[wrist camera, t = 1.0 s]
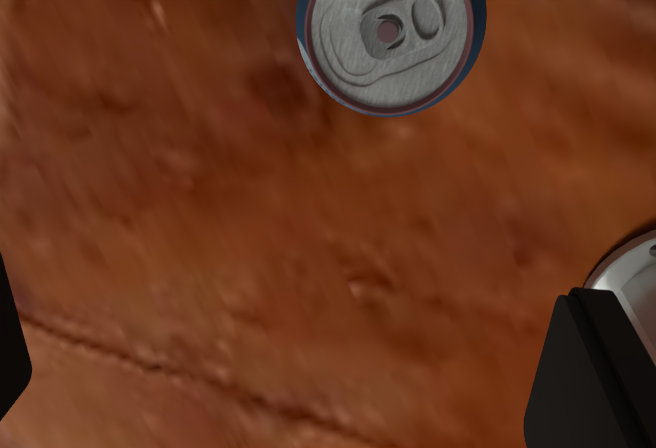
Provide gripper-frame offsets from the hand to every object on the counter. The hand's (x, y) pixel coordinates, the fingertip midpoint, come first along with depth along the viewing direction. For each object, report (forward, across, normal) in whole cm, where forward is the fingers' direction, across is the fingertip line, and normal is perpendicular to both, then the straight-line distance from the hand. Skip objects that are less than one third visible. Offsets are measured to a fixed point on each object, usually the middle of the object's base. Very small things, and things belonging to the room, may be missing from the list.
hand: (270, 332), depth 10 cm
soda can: (+25, -2, -2) cm, 25 cm away
